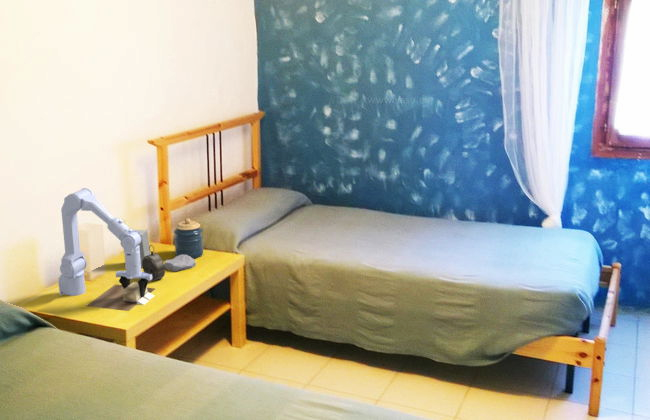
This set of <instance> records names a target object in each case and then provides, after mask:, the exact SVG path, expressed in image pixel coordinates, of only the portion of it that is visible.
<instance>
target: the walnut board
mask: <svg viewBox="0 0 650 420" xmlns="http://www.w3.org/2000/svg"><path fill="white" fill-rule="evenodd" d="M122 290H124V288H123V286H122V285H121V284H117V283H116V284H114V285H112V286H111V287H110V288H109V289H107V290H106V291H104V292H103V293H101V294H100V295H99V296H98V297H96V298H95V299H93V300H92V301H90V302H88V303H87V305H85V307H92V308H99V309H108V310H118V311H127V312H129V311H131V309H134V307H136V306H137V305H138V304H137V302H124V301H123V293H122ZM155 290H156V288H153V287H147V291H148V292H149V293H151V294H152V292H153V291H155Z"/></svg>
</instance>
